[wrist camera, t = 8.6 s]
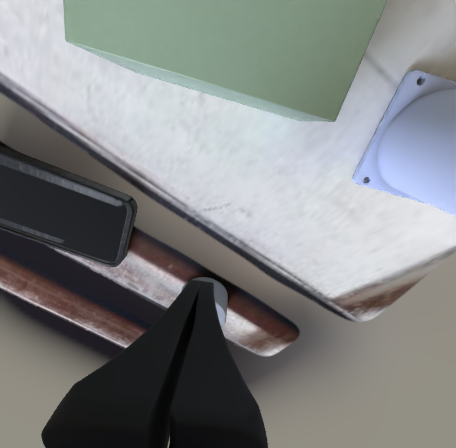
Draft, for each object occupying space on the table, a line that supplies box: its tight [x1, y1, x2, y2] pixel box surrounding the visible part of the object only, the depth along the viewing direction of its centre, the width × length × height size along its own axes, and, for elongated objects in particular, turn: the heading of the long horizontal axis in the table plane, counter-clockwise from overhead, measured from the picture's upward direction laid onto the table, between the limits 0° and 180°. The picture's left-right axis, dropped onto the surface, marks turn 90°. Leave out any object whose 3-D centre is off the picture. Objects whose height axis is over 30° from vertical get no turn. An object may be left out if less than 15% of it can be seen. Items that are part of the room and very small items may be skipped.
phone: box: [0, 145, 137, 267], centre depth 20 cm, size 8×1×15 cm
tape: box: [181, 277, 228, 328], centre depth 23 cm, size 5×5×3 cm
